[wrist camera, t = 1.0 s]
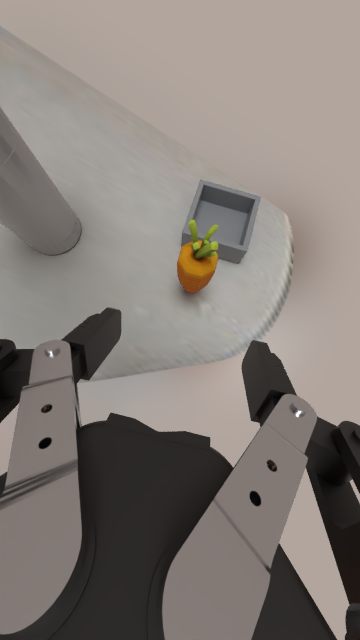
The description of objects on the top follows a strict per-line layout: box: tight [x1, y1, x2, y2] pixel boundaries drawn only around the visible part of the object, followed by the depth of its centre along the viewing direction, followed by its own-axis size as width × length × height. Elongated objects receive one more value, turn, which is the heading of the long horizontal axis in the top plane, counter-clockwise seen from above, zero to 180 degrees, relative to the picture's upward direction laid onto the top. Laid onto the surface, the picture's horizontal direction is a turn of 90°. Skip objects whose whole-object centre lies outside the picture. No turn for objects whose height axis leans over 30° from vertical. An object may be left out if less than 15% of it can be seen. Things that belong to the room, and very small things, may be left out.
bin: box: [181, 179, 261, 264], centre depth 33 cm, size 11×11×4 cm
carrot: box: [177, 220, 219, 293], centre depth 25 cm, size 5×5×15 cm
